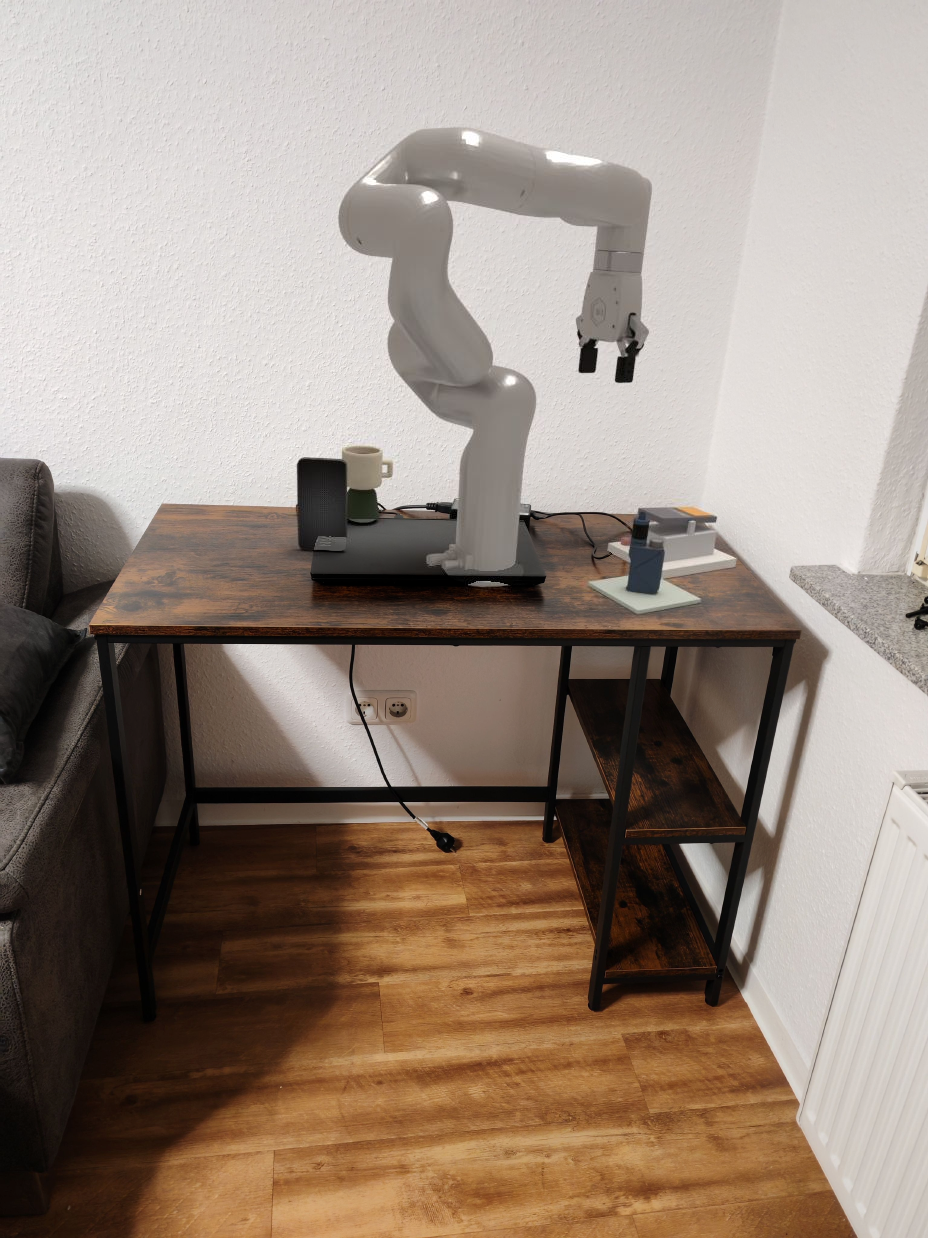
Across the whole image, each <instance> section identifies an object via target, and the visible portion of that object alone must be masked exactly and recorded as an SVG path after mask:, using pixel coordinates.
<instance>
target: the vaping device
mask: <svg viewBox="0 0 928 1238" xmlns="http://www.w3.org/2000/svg"><path fill="white" fill-rule="evenodd" d="M632 522H633V523H632V529H631V530H632V531H631V537H630V538H631V543H630V548H629V557H630V560H631V562H630V563H629V568H628V575H629V576H628V575H627V576H628V583H627V586H626V590H627V591H631V592H637V593H645V594H656V593H657V591H658V590H659V588H660V581H661V575H662V568H663V562H664V556H665V551H664V546H663V542H664V541H663V540H662V539H659V538H651V539H650V543H647V537H648V530H649V523H650V522H651V520H650V519H648V518H646V513H645V512H639V514H638V516H636V517H634V518H633V521H632Z"/></svg>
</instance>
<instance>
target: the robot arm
mask: <svg viewBox="0 0 928 1238" xmlns="http://www.w3.org/2000/svg"><path fill="white" fill-rule="evenodd" d="M652 193H653V186H652V183H651V180H650V179H649V178H647V177H644V176H643V175H642V174H641V173H639V172H638V171H637V170H635V169H633V168H631V167H627V166H625V165H621V164H618V163H614V162H610V161H606V160H602V159H598V158H592V157H587V156H582V155H576V154H573V153H566V152H564V151H559V150H555V149H549V148H544V147H539V146H535V145H532V144H527V143H524V142H520V141H516V140H514V139H510V138H506V137H504V136H500V135H497V134H495V133H491V132H487V131H484V130H481V129H477V128H471V127H463V126H459V127H458V126H457V127H456V126H453V127H433V128H431V127H430V128H422V129H419V130H415V131H414V132H412V133H410V134H409V135H407V136H406V137H404V138H403V139H402V140H400V141H399V142H398V143H397V144H396V145H394V147H392V149H390V150H389V151H388V152H387V153H386V154H384V156H383V157H382V158H380V159H379V160H378V161H377V162H376V163H375V164H374V165H373V166H372V167H371V168H369V170H367V172H365V173H364V174H363V175H362V176H361V177H359V179H358V180H357V181H356V182H354V183H353V185H352V186H351V187H350V188H349V189H348V191H347V192H346V194H345V195H344V196H343V198H342V201H341V203H340V207H339V210H338V215H337V216H338V217H337V218H338V219H337V220H338V228H339V232H340V234H341V237H342V239H343V240H344V241H345V243H346V244H347V245H348V246H349V247H350V248H351V249H352V250H353V251H355V252H357V253H358V254H360V255H365V256H368V257H378V258H379V257H380V258H388V259H390V258H391V260H392V261H391V263H390V264H391V265H390V273H389V278H388V279H389V280H388V290H387V306H388V311H389V313H390V315H391V317H392V319H393V321H394V322H393V323H392V325H390V328H389V331H388V335H387V342H386V343H387V353H388V357H389V359H390V360H389V361H390V363H391V365H392V367H393V369H394V370H395V372H396V373H397V374H398V376H399V377H400V378H401V380H402V381H403V382H404V383H405V384H406V385H407V386H408V387H409V388H410V390H411V391H412V392H413V393H414V394H415V395H416V396H417V398H418V399H420V401H421V402H422V403H423V404H424V405H425V407H426V408H428V410H429V411H430V412H431V413H433V414H434V415H435V416H436V417H438V418H439V419H440V420H442V421H444V422H447V423H450V424H454V425H456V426H460V427H465V428H468V429H470V430H472V434H471V436H470V438H469V440H468V442H467V444H466V445H465V447H464V449H463V451H462V453H461V458H460V461H459V471H458V472H459V473H458V474H459V475H458V476H459V480H458V495H457V496H458V497H457V510H456V511H457V516H456V531H455V532H456V533H455V543H450V544H449V547H448V548H449V549H448V550H445V551H444V553H443V552H442V553H431V554H427V555H426V557H425V558H426V560H425V561H426V565H427V564H429V565H430V566H434V567H436V566H435V565H441V564H442V565H441V569H442V568H443V569H444V570H447V569H452V568H464V569H465V570H467V569H475V570H479V571H498V570H504V569H507V568H510V567H512V566H513V565H514V564H515V561H516V559H517V550H518V549H517V548H518V547H517V546H518V536H519V535H518V534H519V523H520V522H519V521H520V511H521V502H522V501H521V500H522V491H523V490H522V488H523V474H524V466H525V465H524V464H525V458H526V456H525V455H526V448H527V443H528V439H529V435H530V431H531V427H532V423H533V420H534V417H535V414H536V409H537V395H536V394H537V393H536V390H535V388H534V386H533V383H532V382H531V381H530V380H529V378H528V377H526V376H525V375H524V374H522V373H521V372H520V371H517V370H515V369H512V368H508V367H506V366H505V367H504V366H498V365H495V364H493V363H494V362H493V361H494V354H493V348H492V346H491V343H490V341H489V339H488V337H487V334H486V333H485V331H483V329H482V328H481V326H480V325H479V324H478V323H477V321H476V320H475V318H474V317H473V316H472V314H471V313H470V312H469V310H468V309H467V307H466V306H465V305H464V303H463V302H462V300H461V299H460V297H458V295H457V293H456V292H455V290H454V289H453V287H452V285H451V283H450V280H449V270H448V269H449V260H450V259H449V257H450V251H451V247H452V241H453V234H454V219H453V214H452V210H451V207H450V205H449V203H448V202H457V203H463V204H466V205H473V206H477V207H481V208H482V207H483V208H487V209H492V210H495V211H496V210H497V211H501V212H506V213H510V214H514V215H518V216H525V217H527V216H528V217H532V218H533V217H534V218H545V219H546V218H549V219H551V218H553V219H554V218H559V219H560V220H561V221H563V222H564V223H566V224H569V225H572V226H576V227H589V228H591V227H596V235H595V236H596V238H595V244H594V245H595V247H594V257H593V265H592V271H590V273H589V276H588V279H587V283H586V286H585V291H584V295H583V301H582V306H581V313H580V315H578V316H577V317H576V318H575V324H576V329H577V331H576V335H577V338H578V340H579V341H578V347H579V348H580V351H579V360H578V361H579V362H578V368H577V369H578V373H579V374H595V373H596V371H597V365H598V364H597V362H598V354H599V353H598V352H599V348H598V347H596V346H597V345H598V343H599V342H600V341H601V342H606V343H616V346H617V349H618V351H619V354H620V355H619V356H617V358H616V359H617V360H616V366H615V367H616V368H615V373H614V382H615V383H616V384H629V383H630V384H631V383H633V381H634V374H635V372H634V371H635V366H636V359H637V358H638V357H640V352H641V350H642V349H644V346H645V342H646V341H647V337H648V336H649V335H650V331H649V329H648V328H647V326H646V325H645V324H644V323H643V322H642V321H641V319H642V308H643V306H642V305H643V276H642V272H643V264H644V256H645V255H644V254H645V249H646V241H647V234H648V233H647V232H648V224H649V216H650V209H651V200H652V195H653V194H652ZM443 569H442V570H443ZM444 570H443V571H444ZM468 586H471V587H479V588H487V587H503V586H509V585H508V584H504V583H500V582H491V581H476V582H474V583H471V584H468Z"/></svg>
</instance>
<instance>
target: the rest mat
mask: <svg viewBox="0 0 928 1238" xmlns="http://www.w3.org/2000/svg"><path fill="white" fill-rule="evenodd" d="M628 576H629V574H628V575H624V576H617V577H611V578H604V579H598V580H597V579H596V580H590V581H588V582H587V586H588V587H589V588H591V589H593V590H595V591H596V592H599V593H600V594H602V595H603V596H605V597H607V598H608V599H610V600H612V601H614V602H615V603H617V604H619V605H620V606H622V607H624V608H626V609H627V610H629V611H631V612H633V613H635V614H636V615H642V614H648V613H652V612H656V611H663V610H668V609H674V608H679V607H684V606H690V605H691V606H692V605H695V604H700V603H701V601H702V599H701V598H700V597H698V596H696V595H695V594H693V593H690V592H688V591H686V590H685V589H683V588H680V587H679V586H677V585H674V584H673V583H671V582H669V581H667V580H666V579H661V581H660V588H659V590H658V591H657V593H656V594H645V593H637V592H631V591H627V590H626V586H627V583H628Z"/></svg>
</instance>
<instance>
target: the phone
mask: <svg viewBox="0 0 928 1238" xmlns="http://www.w3.org/2000/svg"><path fill="white" fill-rule="evenodd" d="M347 469H348V467H347V463H346V462H345V461H344V460H343V459H342V458H331V457H330V458H327V457H325V458H324V457H307V456H306V457H305V456H304V457H300V458H299V459H298V461H297V463H296V497H297V498H296V501H297V502H296V503H297V510H296V511H297V519H296V520H297V523H296V524H297V544H298V547H299V548H300V549H301V550H303V551H313V550H314V547H315V543H316V540H317V538H318V536H326V537H329V536H331V537H346V538H347V539H348V520H347V492H348V487H347Z"/></svg>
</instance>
